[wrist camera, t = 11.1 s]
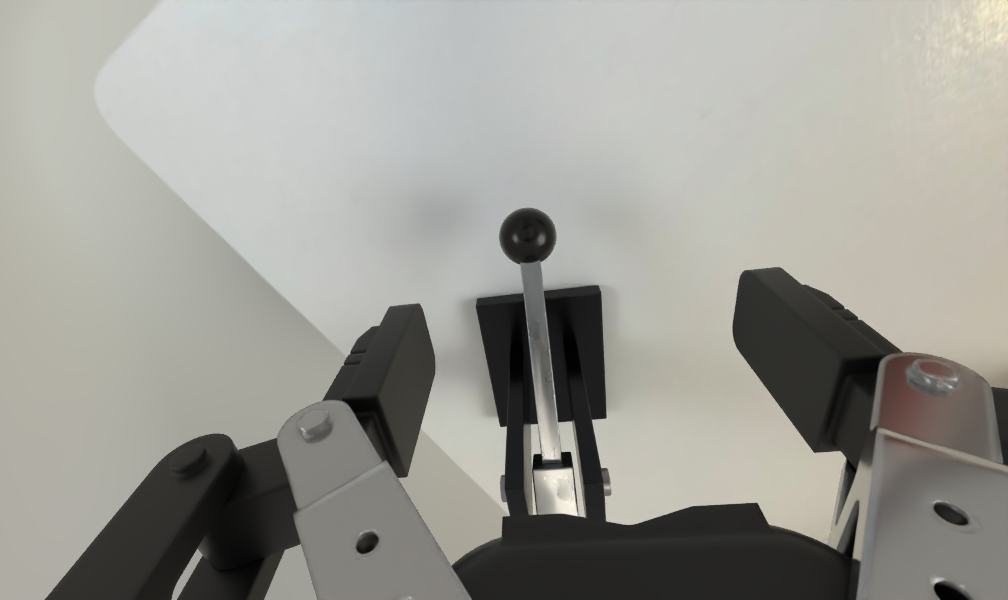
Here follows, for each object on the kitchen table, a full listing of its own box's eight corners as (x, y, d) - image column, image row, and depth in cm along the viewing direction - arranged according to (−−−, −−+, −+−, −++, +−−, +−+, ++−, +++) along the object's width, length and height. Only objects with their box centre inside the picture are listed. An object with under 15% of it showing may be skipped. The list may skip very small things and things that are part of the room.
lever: (499, 217, 26) (493, 206, 23) (552, 210, 26) (553, 198, 23) (530, 498, 26) (527, 526, 23) (584, 494, 26) (589, 523, 23)
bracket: (476, 298, 32) (450, 438, 20) (598, 284, 32) (646, 423, 19) (500, 417, 38) (490, 582, 26) (604, 408, 37) (643, 575, 25)
